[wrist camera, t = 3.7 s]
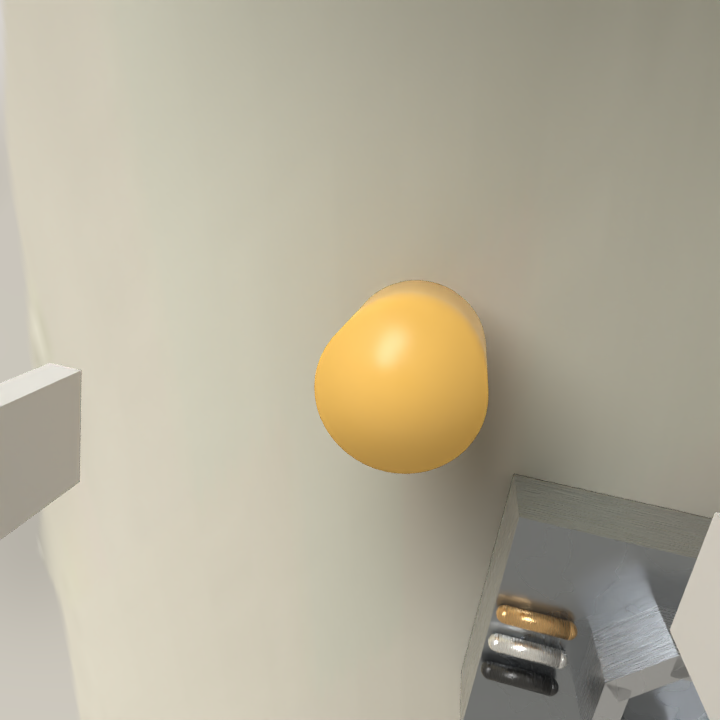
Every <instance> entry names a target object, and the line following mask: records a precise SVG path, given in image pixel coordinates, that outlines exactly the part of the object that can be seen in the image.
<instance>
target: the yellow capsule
mask: <svg viewBox="0 0 720 720" xmlns="http://www.w3.org/2000/svg"><path fill="white" fill-rule="evenodd" d="M314 388H315V399H316V404H317V409H318V412H319V415H320V418H321V420H322V422H323V424H324V426H325V428H326V429H327V431H328V433H329V434H330V436H331V437H332V438H333V439H334V441H335V442H336V443H337V444H338V445H339V446H340V447H341V448H342V449H343V450H344V451H345V452H346V453H348V454H349V455H351V456H352V457H353V458H355V459H356V460H358V461H360V462H362V463H363V464H365V465H368V466H370V467H372V468H375V469H379V470H382V471H386V472H392V473H402V474H409V473H420V472H425V471H429V470H432V469H435V468H438V467H440V466H443V465H445V464H447V463H449V462H450V461H452V460H453V459H455V458H456V457H458V456H459V455H460V454H461V453H462V452H464V451H465V450H466V449H467V448H468V446H469V445H470V444H471V443H472V442H473V440H474V439H475V437H476V436H477V434H478V433H479V431H480V429H481V427H482V425H483V422H484V419H485V416H486V412H487V406H488V374H487V355H486V341H485V334H484V331H483V327H482V325H481V322H480V320H479V318H478V316H477V314H476V313H475V311H474V310H473V308H472V307H471V306H470V305H469V303H468V302H467V301H466V300H465V299H463V298H462V297H461V296H460V295H458V294H457V293H456V292H454V291H453V290H451V289H449V288H447V287H445V286H442V285H440V284H437V283H433V282H429V281H421V280H410V281H403V282H399V283H395V284H392V285H390V286H387V287H385V288H383V289H382V290H380V291H378V292H377V293H375V294H374V295H373V296H372V297H370V298H369V299H368V300H367V301H366V302H365V303H364V305H363V306H362V307H361V308H360V309H359V310H358V311H357V312H356V313H355V314H354V315H353V316H352V317H351V318H350V320H349V321H348V322H347V323H346V324H345V325H344V326H343V327H342V328H341V329H340V330H339V331H338V332H337V333H336V334H335V336H334V337H333V338H332V339H331V340H330V342H329V343H328V345H327V346H326V347H325V349H324V351H323V353H322V355H321V357H320V360H319V363H318V366H317V370H316V375H315V386H314Z"/></svg>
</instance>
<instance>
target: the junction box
mask: <svg viewBox="0 0 720 720" xmlns="http://www.w3.org/2000/svg"><path fill="white" fill-rule="evenodd" d="M711 521H712V519H711V518H707V517H702V516H698V515H693V514H689V513H685V512H680V511H676V510H671V509H667V508H662V507H658V506H654V505H649V504H645V503H640V502H636V501H631V500H627V499H623V498H618V497H614V496H609V495H605V494H600V493H596V492H592V491H587V490H583V489H578V488H574V487H569V486H565V485H561V484H556V483H552V482H547V481H543V480H538V479H534V478H529V477H525V476H521V475H516V474H514V475H513V479H512V482H511V486H510V490H509V494H508V498H507V501H506V505H505V509H504V513H503V516H502V520H501V524H500V528H499V531H498V535H497V539H496V543H495V547H494V550H493V554H492V558H491V562H490V565H489V569H488V573H487V577H486V580H485V584H484V588H483V592H482V595H481V599H480V603H479V607H478V611H477V614H476V618H475V622H474V626H473V629H472V633H471V637H470V641H469V644H468V648H467V652H466V656H465V659H464V663H463V667H462V671H461V693H460V720H709V718H708V715H707V713H706V711H705V709H704V706H703V704H702V702H701V700H700V697H699V695H698V693H697V691H696V688H695V686H694V684H693V682H692V679H691V677H690V675H689V673H688V670H687V668H686V666H685V664H684V661H683V659H682V657H681V655H680V652H679V650H678V648H677V646H676V643H675V641H674V639H673V637H672V634H671V632H670V628H671V625H672V623H673V620H674V617H675V615H676V612H677V610H678V607H679V604H680V602H681V599H682V597H683V594H684V591H685V589H686V586H687V584H688V581H689V578H690V576H691V573H692V571H693V568H694V565H695V563H696V560H697V557H698V555H699V552H700V550H701V547H702V544H703V542H704V539H705V537H706V534H707V531H708V529H709V526H710V524H711Z"/></svg>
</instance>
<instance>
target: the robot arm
mask: <svg viewBox="0 0 720 720" xmlns="http://www.w3.org/2000/svg"><path fill="white" fill-rule="evenodd" d="M81 375H82V370H79V369H75V368H70V367H66V366H61V365H57V364H52V363H48V364H46V365H43V366H41V367H38V368H36V369H33V370H31V371H29V372H26V373H24V374H21V375H19V376H16V377H14V378H11V379H9V380H6V381H4V382H1V383H0V540H1V539H2V538H4V537H5V536H6V535H8V534H9V533H10V532H12V531H13V530H15V529H16V528H17V527H19V526H20V525H21V524H23V523H24V522H25V521H27V520H28V519H30V518H31V517H32V516H34V515H35V514H36V513H38V512H39V511H41V510H42V509H43V508H45V507H46V506H47V505H49V504H50V503H51V502H53V501H54V500H56V499H57V498H58V497H60V496H61V495H62V494H64V493H65V492H66V491H68V490H69V489H71V488H72V487H73V486H75V485H76V484H77V483H79V482H80V432H81ZM670 632H671V634H672V637H673V639H674V641H675V643H676V646H677V648H678V650H679V652H680V655H681V657H682V659H683V661H684V664H685V666H686V668H687V670H688V673H689V675H690V677H691V679H692V682H693V684H694V686H695V688H696V691H697V693H698V695H699V697H700V700H701V702H702V704H703V706H704V709H705V711H706V713H707V715H708V718H709V720H720V513H717V512H715V513H714V516H713V518H712V521H711V524H710V526H709V529H708V531H707V534H706V537H705V539H704V542H703V544H702V547H701V550H700V552H699V555H698V557H697V560H696V563H695V565H694V568H693V571H692V573H691V576H690V578H689V581H688V584H687V586H686V589H685V591H684V594H683V597H682V599H681V602H680V604H679V607H678V610H677V612H676V615H675V617H674V620H673V623H672V625H671V628H670Z"/></svg>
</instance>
